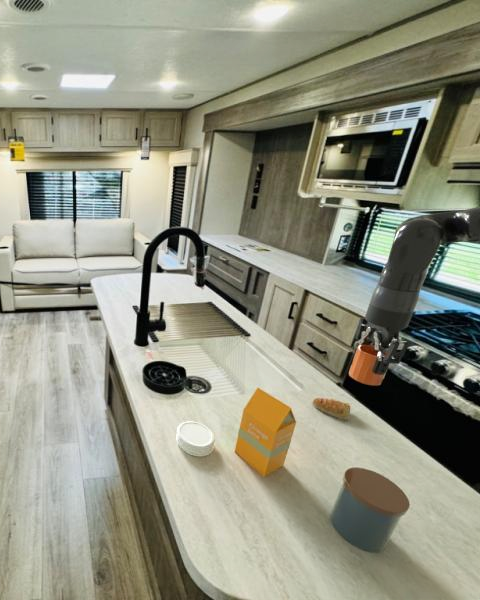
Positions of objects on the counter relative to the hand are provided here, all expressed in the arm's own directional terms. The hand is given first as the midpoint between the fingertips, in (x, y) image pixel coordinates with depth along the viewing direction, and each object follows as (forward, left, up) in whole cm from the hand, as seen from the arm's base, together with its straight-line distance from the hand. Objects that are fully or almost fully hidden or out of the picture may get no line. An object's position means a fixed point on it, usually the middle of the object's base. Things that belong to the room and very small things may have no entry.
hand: (369, 365), depth 79 cm
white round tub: (+40, +9, -25) cm, 48 cm away
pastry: (-4, -13, -25) cm, 28 cm away
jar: (+9, +26, -25) cm, 37 cm away
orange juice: (+24, +11, -25) cm, 37 cm away
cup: (0, 0, -4) cm, 4 cm away
